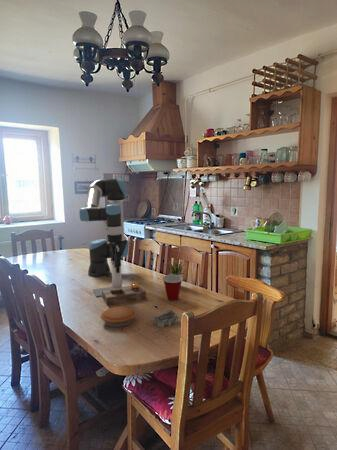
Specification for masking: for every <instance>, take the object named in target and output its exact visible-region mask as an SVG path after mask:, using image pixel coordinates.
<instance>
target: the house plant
mask: <svg viewBox="0 0 337 450" xmlns="http://www.w3.org/2000/svg"><path fill="white" fill-rule="evenodd" d="M185 261H186V260H183V261H181V262H180V263H179V264H178V261H177V260H173V259H172V262H173V263H174V265H173V264H172V263H171V262H168V264H169V265H166V266H168V267H169V268H170V269H169V270H168V269H167V270H166V271H167V273H166V275H172V274H174V275H179V276H181V277H183V275H185V273H186V271H185V270H184V269H185V267H184V266H186V263H184V262H185ZM183 263H184V264H183ZM182 274H183V275H182ZM181 286H182V285H181ZM181 286H180V288H181Z"/></svg>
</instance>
